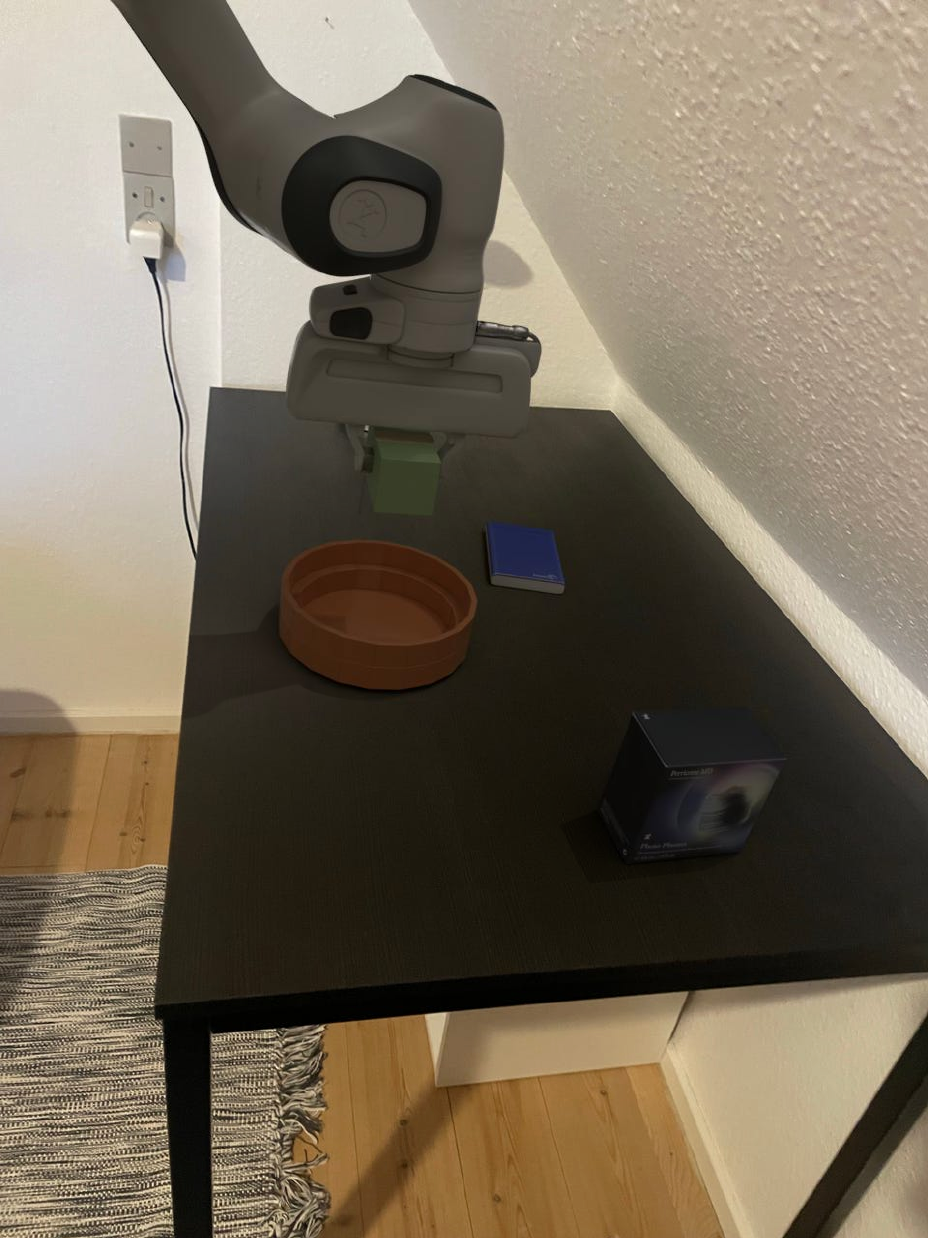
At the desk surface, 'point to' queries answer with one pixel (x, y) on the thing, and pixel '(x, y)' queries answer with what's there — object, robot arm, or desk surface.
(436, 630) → the bowl
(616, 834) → the small box
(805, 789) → the desk surface
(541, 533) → the hard drive
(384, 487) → the package
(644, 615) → the desk surface
